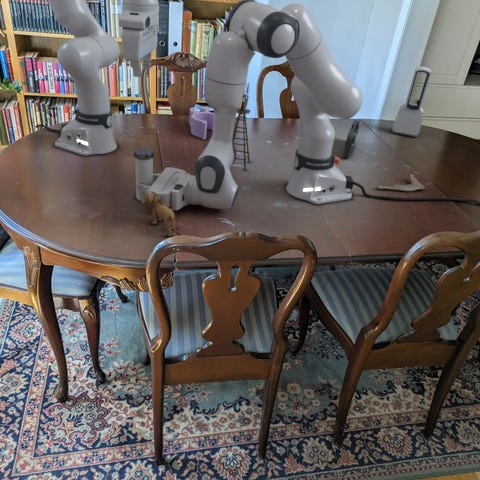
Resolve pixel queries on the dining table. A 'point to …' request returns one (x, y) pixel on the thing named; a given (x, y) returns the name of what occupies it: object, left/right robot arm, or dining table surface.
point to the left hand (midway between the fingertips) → (142, 72)
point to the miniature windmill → (244, 112)
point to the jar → (143, 175)
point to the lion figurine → (159, 210)
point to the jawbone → (405, 186)
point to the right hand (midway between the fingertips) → (141, 181)
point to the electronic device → (411, 110)
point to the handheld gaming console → (351, 139)
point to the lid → (143, 153)
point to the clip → (201, 122)
